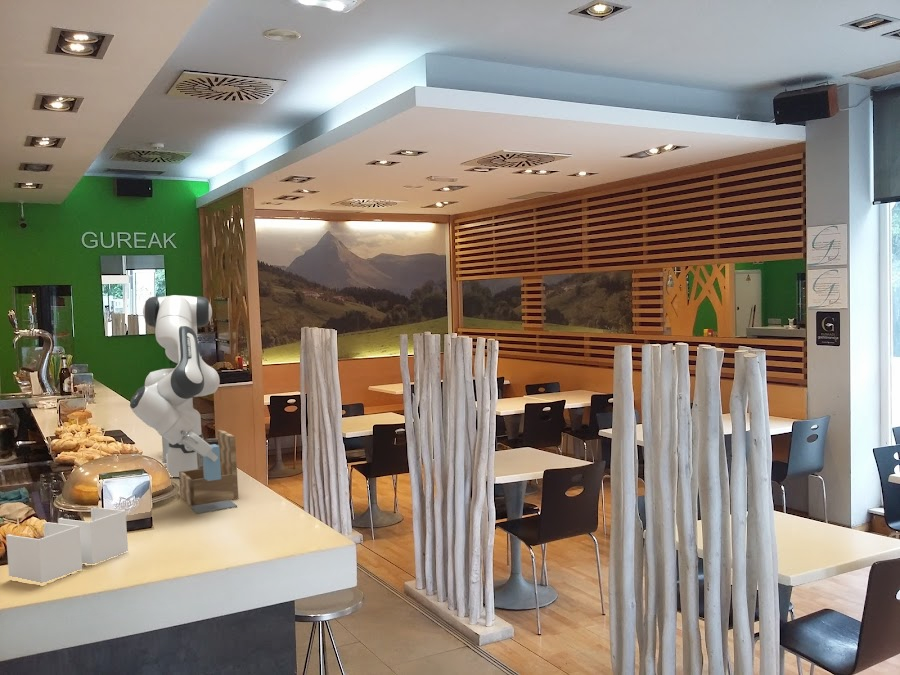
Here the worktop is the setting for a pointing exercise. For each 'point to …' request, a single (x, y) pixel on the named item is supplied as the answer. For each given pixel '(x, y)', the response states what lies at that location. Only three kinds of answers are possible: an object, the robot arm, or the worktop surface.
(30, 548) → the white twin bins
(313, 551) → the worktop surface
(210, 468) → the block
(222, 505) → the mat
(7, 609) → the worktop surface
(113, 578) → the worktop surface
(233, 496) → the caddy
